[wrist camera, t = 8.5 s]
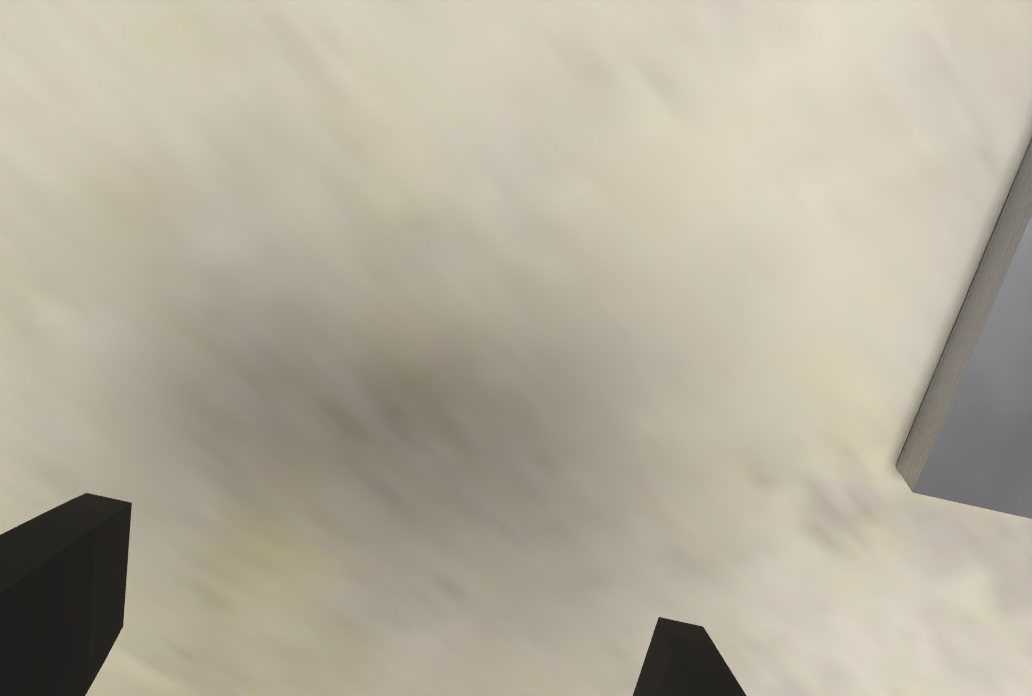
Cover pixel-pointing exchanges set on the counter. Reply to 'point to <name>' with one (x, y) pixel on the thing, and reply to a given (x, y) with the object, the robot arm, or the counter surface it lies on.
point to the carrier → (984, 380)
